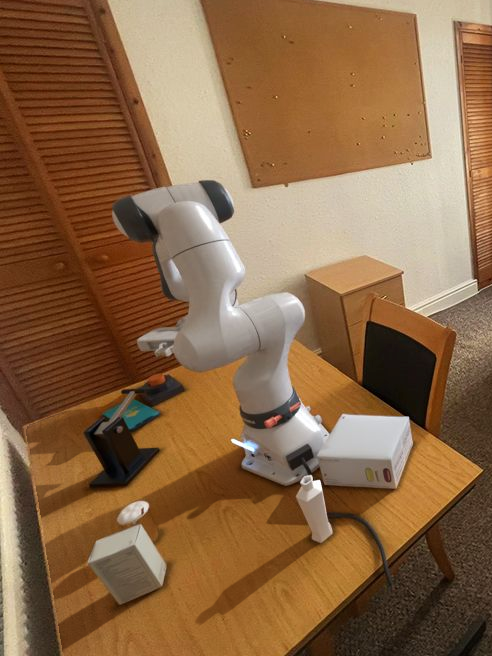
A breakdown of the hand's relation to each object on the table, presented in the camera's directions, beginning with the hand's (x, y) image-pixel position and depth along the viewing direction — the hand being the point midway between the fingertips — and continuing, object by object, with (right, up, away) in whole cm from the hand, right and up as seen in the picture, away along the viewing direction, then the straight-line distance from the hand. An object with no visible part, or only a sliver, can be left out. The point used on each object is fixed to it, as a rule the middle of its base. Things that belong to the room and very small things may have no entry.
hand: (160, 354), depth 107 cm
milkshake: (+21, -32, -26) cm, 46 cm away
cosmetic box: (+27, -35, -34) cm, 55 cm away
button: (-12, -11, +13) cm, 21 cm away
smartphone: (-13, -18, +6) cm, 23 cm away
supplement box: (+59, -24, -10) cm, 65 cm away
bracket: (+1, -25, -11) cm, 27 cm away
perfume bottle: (+55, -31, -25) cm, 68 cm away
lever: (+1, -12, -11) cm, 16 cm away
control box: (-12, -14, +15) cm, 24 cm away
